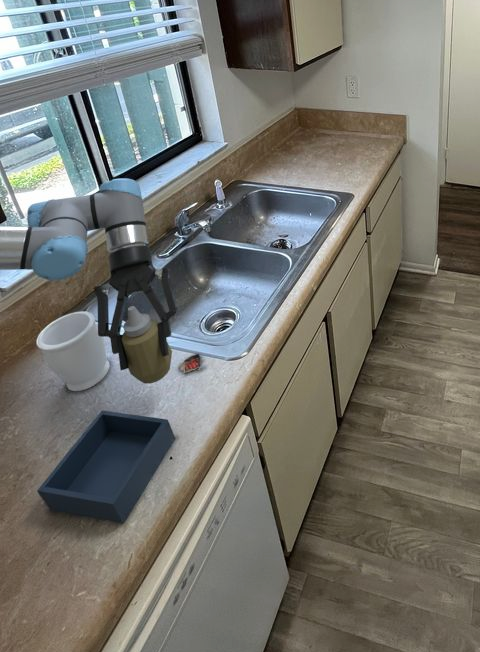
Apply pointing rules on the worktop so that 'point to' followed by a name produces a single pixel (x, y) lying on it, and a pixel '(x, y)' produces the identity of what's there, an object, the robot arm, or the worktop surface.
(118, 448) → the bin
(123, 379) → the worktop surface
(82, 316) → the jar
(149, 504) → the worktop surface
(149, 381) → the squeeze bottle
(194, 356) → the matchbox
